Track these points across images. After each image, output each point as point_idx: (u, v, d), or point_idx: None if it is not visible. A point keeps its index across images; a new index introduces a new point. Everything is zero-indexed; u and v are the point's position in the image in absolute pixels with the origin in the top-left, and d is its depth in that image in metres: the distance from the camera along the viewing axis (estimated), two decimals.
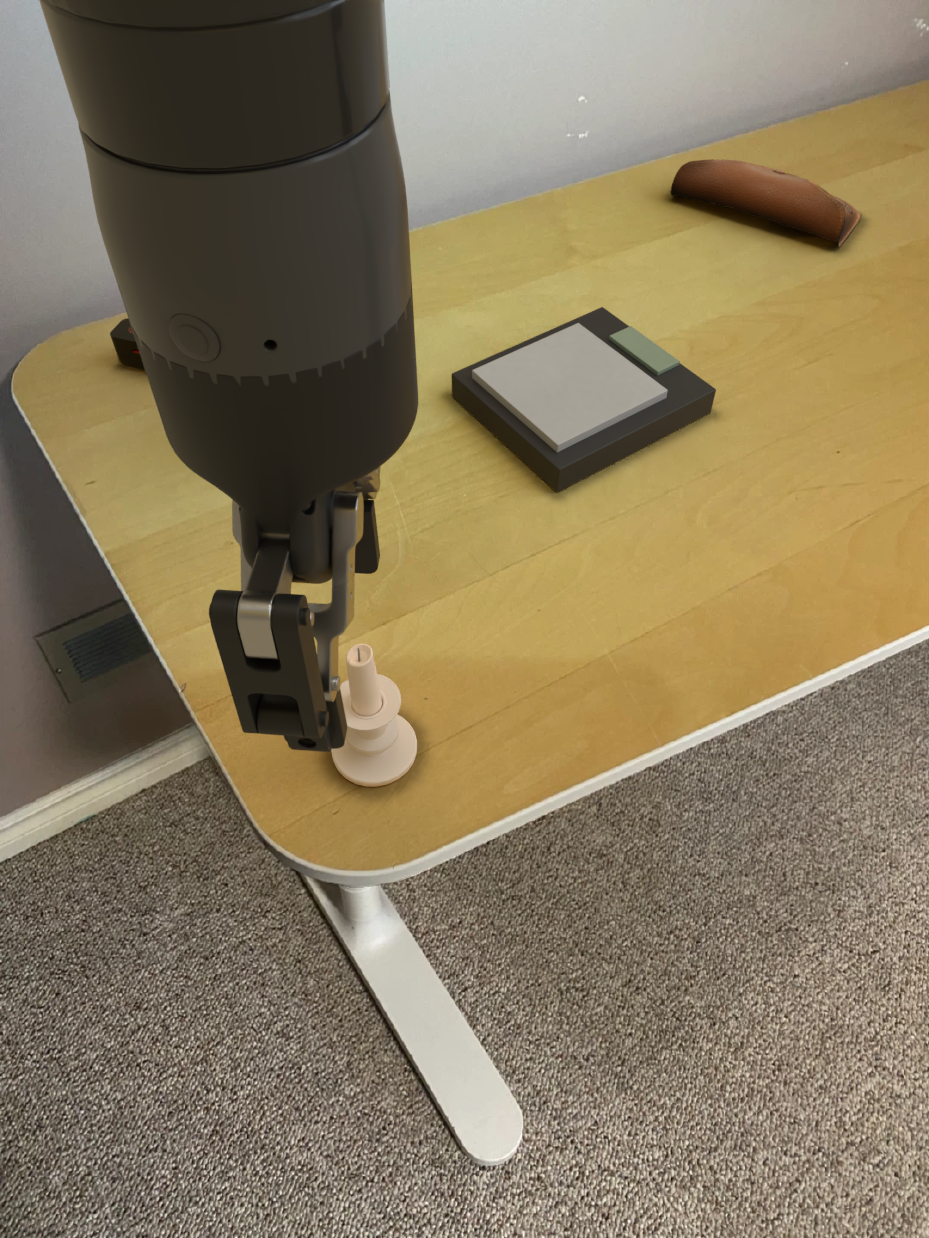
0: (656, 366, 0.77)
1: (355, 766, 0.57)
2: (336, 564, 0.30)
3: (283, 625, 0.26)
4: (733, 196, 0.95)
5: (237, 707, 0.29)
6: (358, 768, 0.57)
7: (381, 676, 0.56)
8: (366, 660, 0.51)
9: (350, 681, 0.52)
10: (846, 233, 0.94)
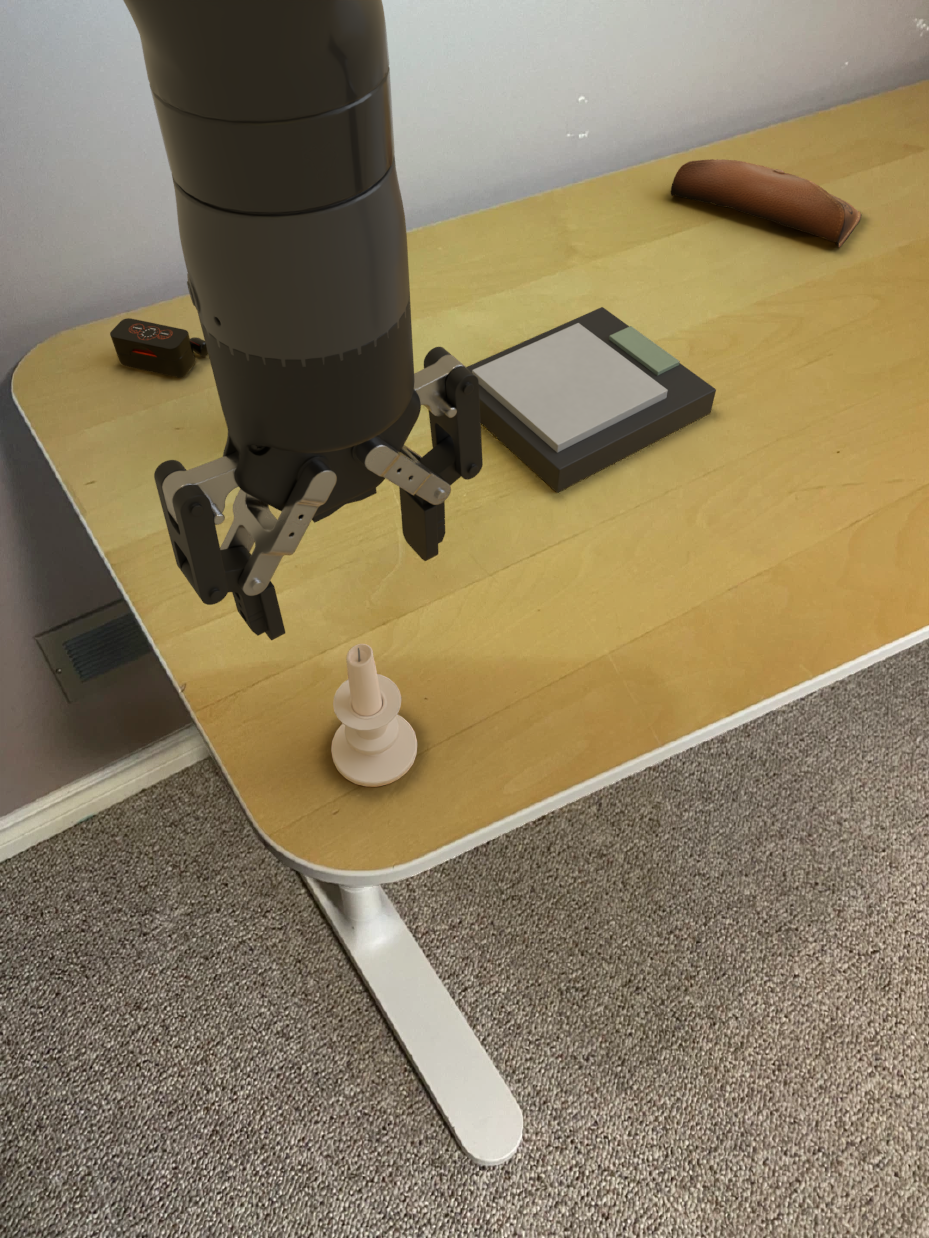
0: (656, 366, 0.77)
1: (355, 766, 0.57)
2: (287, 506, 0.39)
3: (177, 504, 0.36)
4: (733, 196, 0.95)
5: (172, 545, 0.40)
6: (358, 768, 0.57)
7: (381, 676, 0.56)
8: (366, 660, 0.51)
9: (350, 681, 0.52)
10: (846, 233, 0.94)
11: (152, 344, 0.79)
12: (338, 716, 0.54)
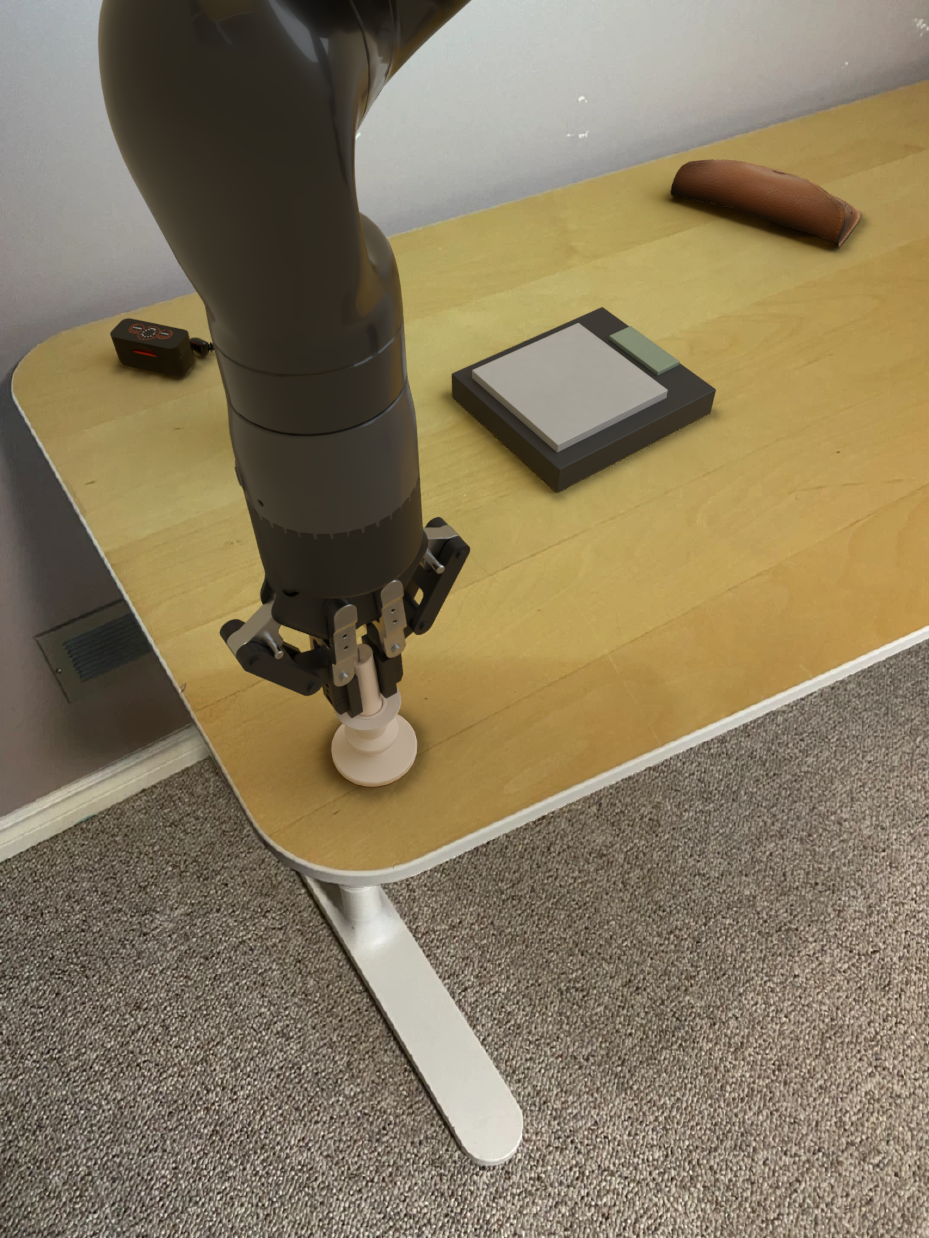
0: (656, 366, 0.77)
1: (355, 766, 0.57)
2: (330, 633, 0.46)
3: None
4: (733, 197, 0.95)
5: None
6: (358, 768, 0.57)
7: None
8: (366, 660, 0.51)
9: None
10: (846, 233, 0.94)
11: (152, 344, 0.79)
12: (338, 716, 0.54)
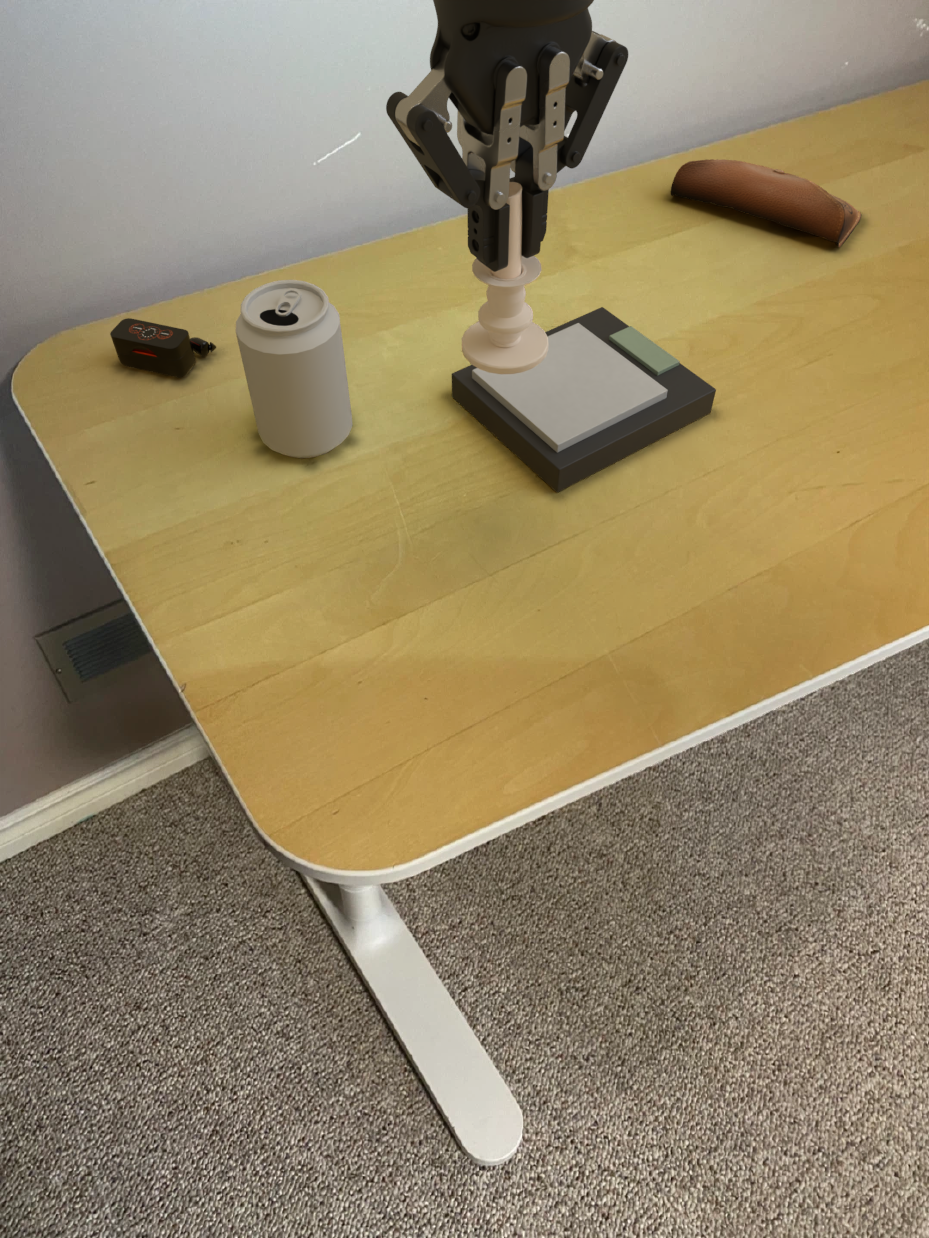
0: (656, 366, 0.77)
1: (488, 355, 0.56)
2: (496, 116, 0.45)
3: (412, 127, 0.43)
4: (733, 197, 0.95)
5: None
6: (492, 357, 0.56)
7: None
8: None
9: None
10: (846, 233, 0.94)
11: (152, 344, 0.79)
12: (479, 278, 0.53)
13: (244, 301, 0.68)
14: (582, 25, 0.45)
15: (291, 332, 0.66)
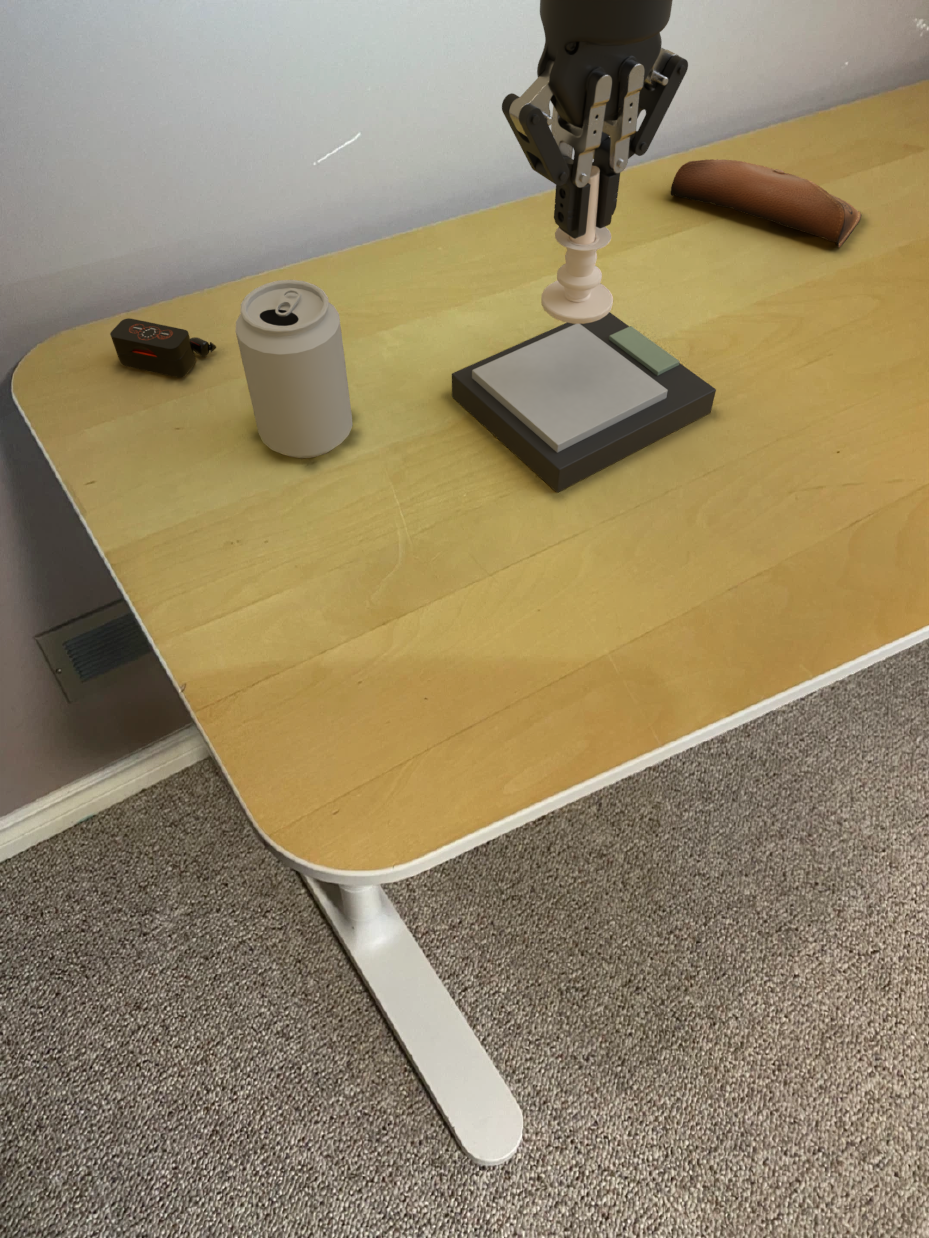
0: (656, 366, 0.77)
1: (564, 308, 0.69)
2: (585, 113, 0.58)
3: (523, 121, 0.56)
4: (733, 197, 0.95)
5: None
6: (567, 310, 0.69)
7: None
8: None
9: None
10: (846, 233, 0.94)
11: (152, 344, 0.79)
12: (561, 243, 0.66)
13: (244, 301, 0.68)
14: (654, 43, 0.58)
15: (291, 332, 0.66)
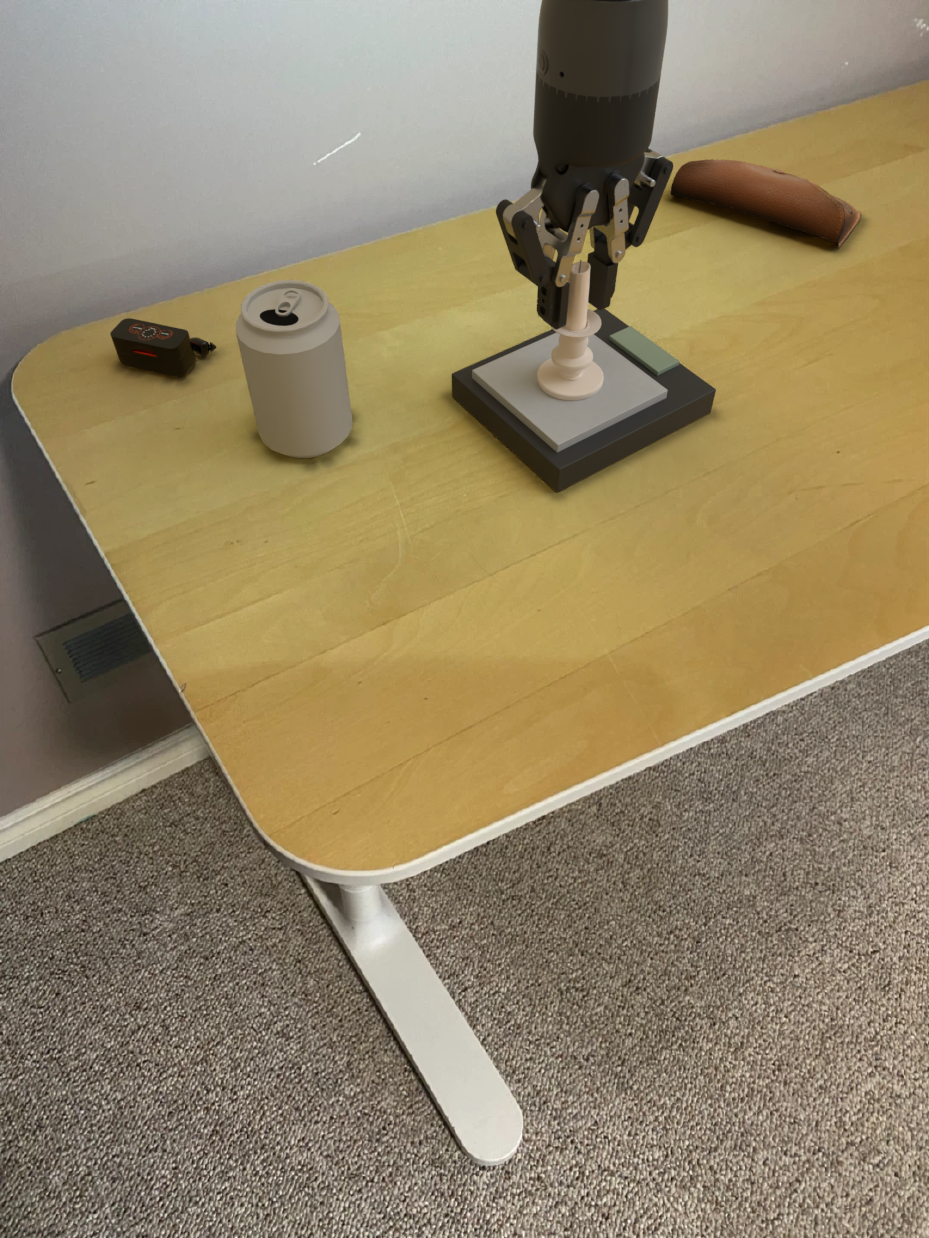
0: (656, 366, 0.77)
1: (558, 386, 0.74)
2: (572, 221, 0.63)
3: (515, 225, 0.61)
4: (733, 197, 0.95)
5: (511, 256, 0.65)
6: (561, 387, 0.74)
7: None
8: (585, 271, 0.68)
9: (570, 293, 0.69)
10: (846, 233, 0.94)
11: (152, 344, 0.79)
12: (555, 330, 0.71)
13: (244, 301, 0.68)
14: (637, 158, 0.63)
15: (291, 332, 0.66)
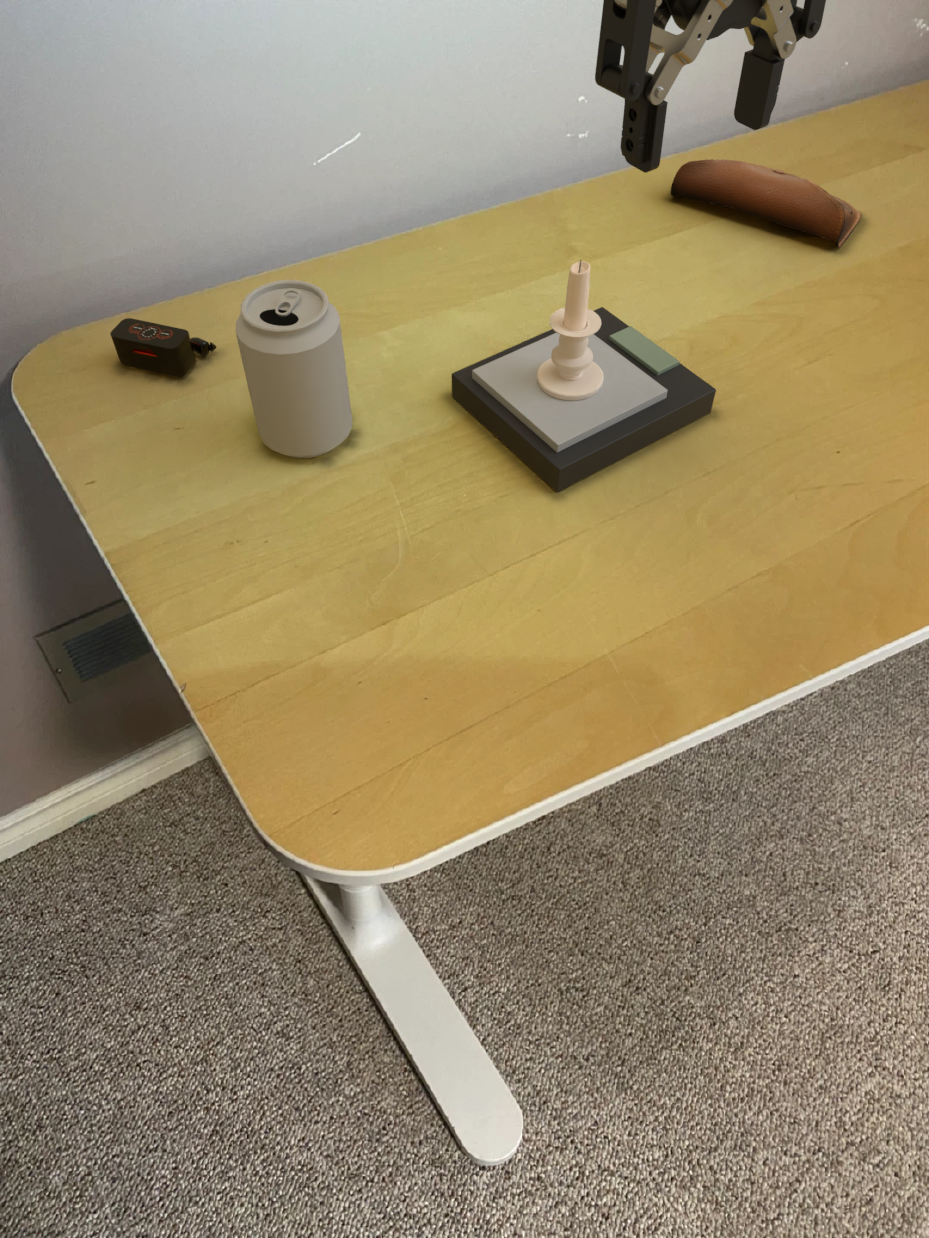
0: (656, 366, 0.77)
1: (558, 386, 0.74)
2: (701, 5, 0.48)
3: None
4: (733, 197, 0.95)
5: (598, 52, 0.49)
6: (561, 387, 0.74)
7: None
8: (585, 271, 0.68)
9: (570, 293, 0.69)
10: (846, 233, 0.94)
11: (152, 344, 0.79)
12: (555, 330, 0.71)
13: (244, 301, 0.68)
14: None
15: (291, 332, 0.66)
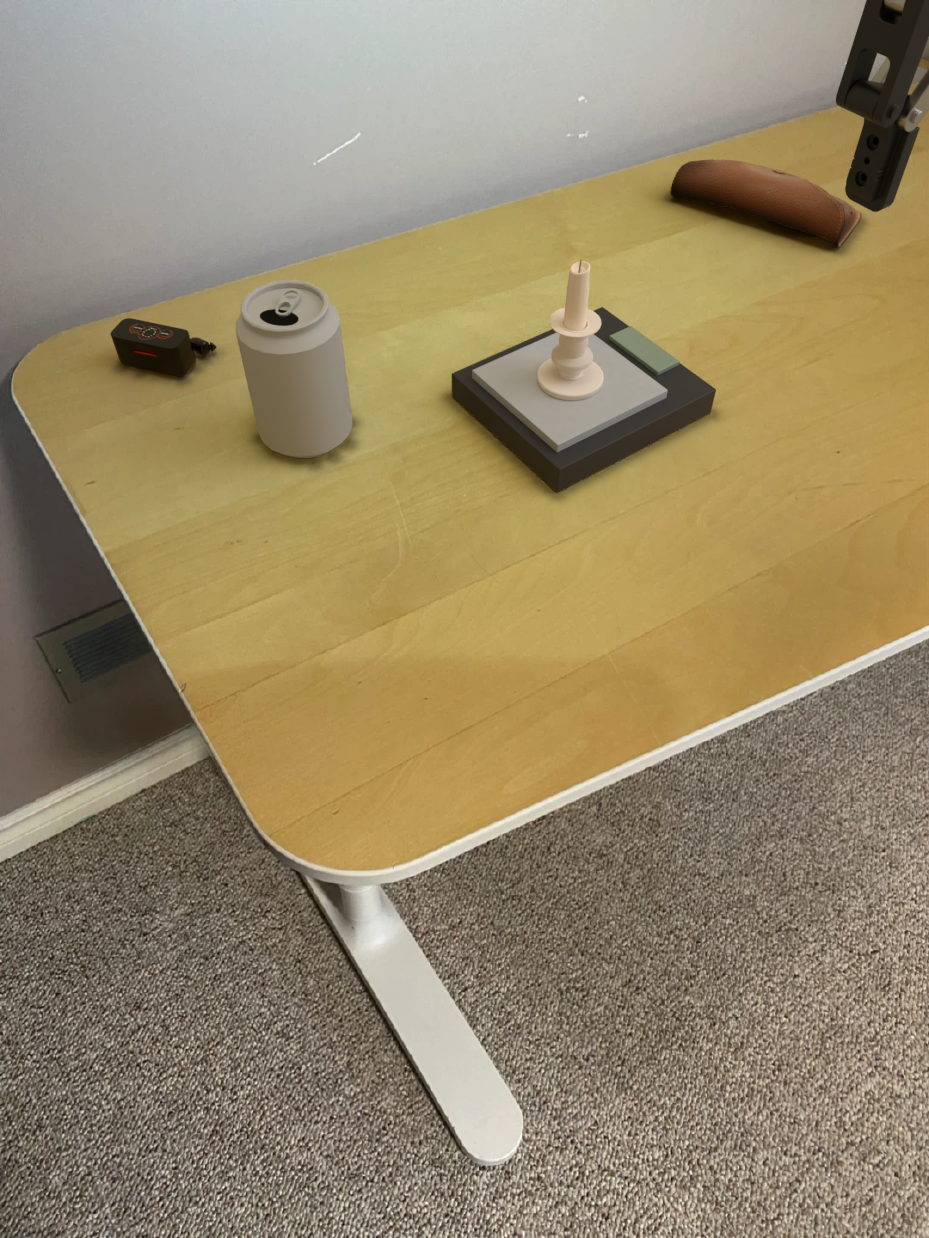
0: (656, 366, 0.77)
1: (558, 386, 0.74)
2: None
3: None
4: (733, 197, 0.95)
5: (847, 64, 0.39)
6: (561, 387, 0.74)
7: None
8: (585, 271, 0.68)
9: (570, 293, 0.69)
10: (846, 233, 0.94)
11: (152, 344, 0.79)
12: (555, 330, 0.71)
13: (244, 301, 0.68)
14: None
15: (291, 332, 0.66)
